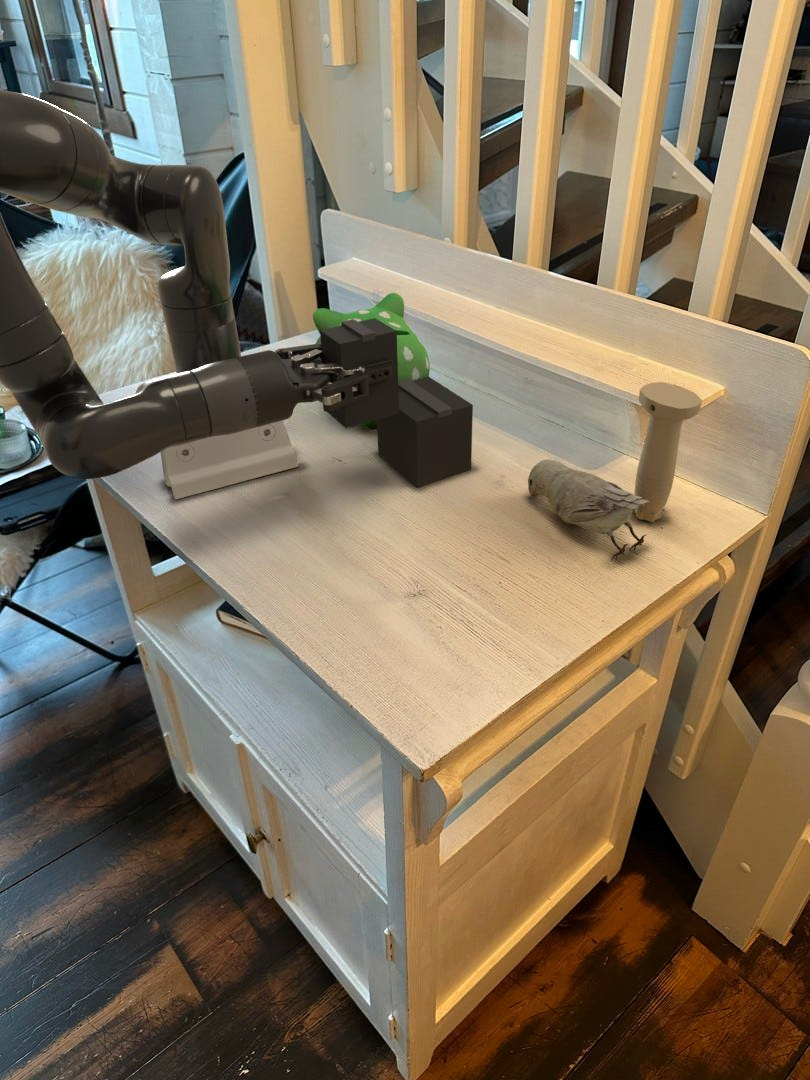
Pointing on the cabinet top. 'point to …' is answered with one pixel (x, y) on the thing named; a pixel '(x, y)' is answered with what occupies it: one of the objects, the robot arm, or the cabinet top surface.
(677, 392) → the handle
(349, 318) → the piggy bank
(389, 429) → the black taped box
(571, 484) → the decorative bird
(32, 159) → the robot arm
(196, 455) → the white wall mount bracket
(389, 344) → the black box
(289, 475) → the cabinet top surface
